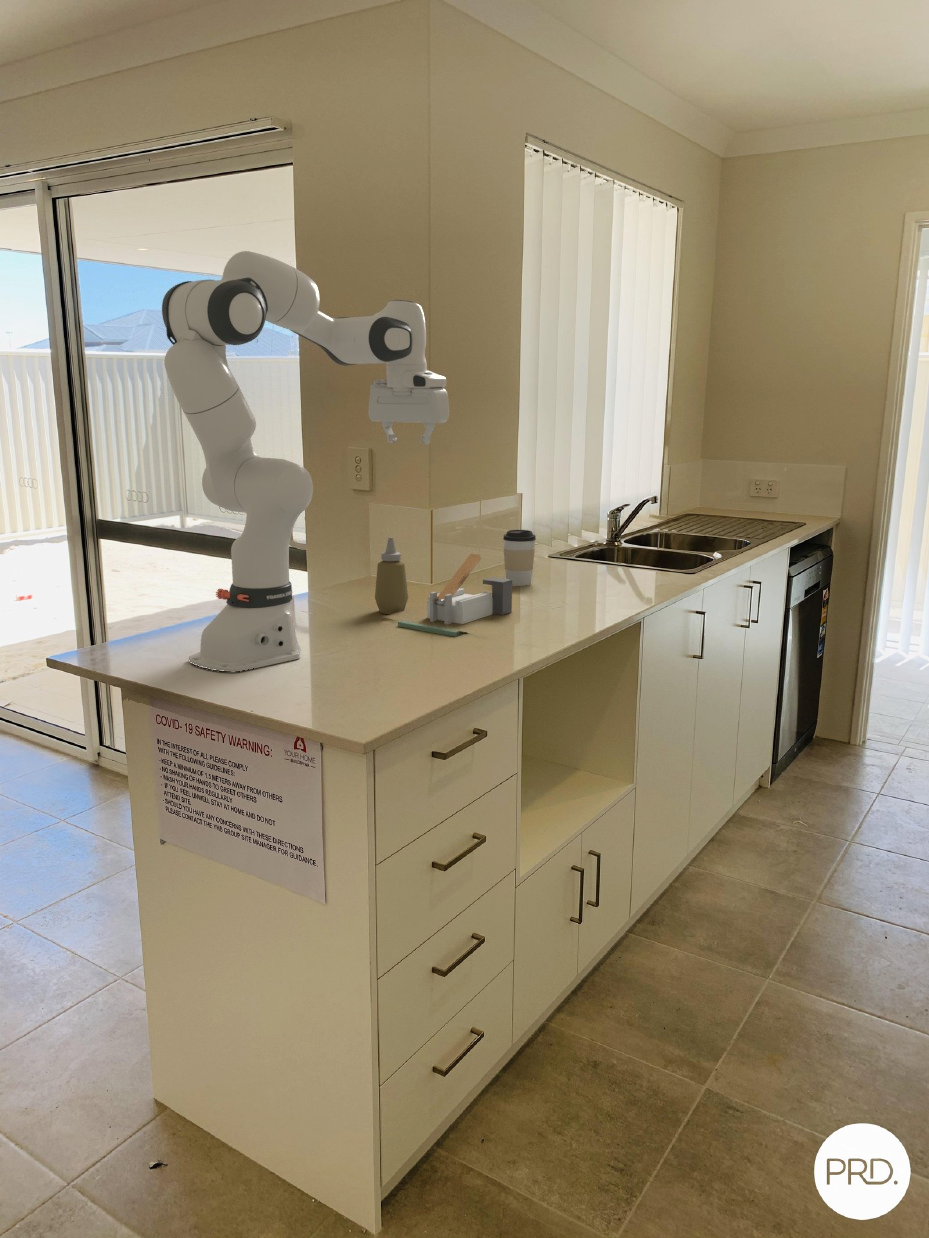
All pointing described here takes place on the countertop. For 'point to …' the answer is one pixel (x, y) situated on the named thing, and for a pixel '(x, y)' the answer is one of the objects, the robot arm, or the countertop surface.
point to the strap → (458, 578)
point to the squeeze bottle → (391, 581)
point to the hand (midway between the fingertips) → (408, 443)
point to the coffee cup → (519, 556)
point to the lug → (500, 595)
